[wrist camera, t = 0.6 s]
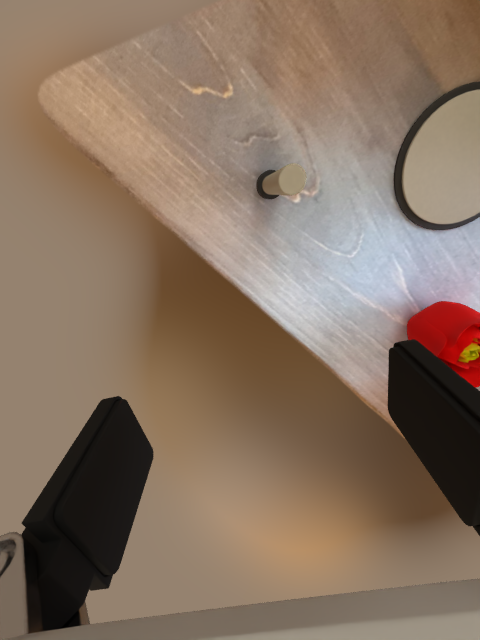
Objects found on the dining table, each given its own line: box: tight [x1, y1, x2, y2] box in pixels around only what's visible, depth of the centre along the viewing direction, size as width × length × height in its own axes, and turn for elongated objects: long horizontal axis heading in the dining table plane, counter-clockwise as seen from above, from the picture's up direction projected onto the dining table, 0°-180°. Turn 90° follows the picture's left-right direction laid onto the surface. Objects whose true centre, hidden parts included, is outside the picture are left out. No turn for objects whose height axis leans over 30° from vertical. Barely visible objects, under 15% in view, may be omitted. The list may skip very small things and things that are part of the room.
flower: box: [407, 301, 480, 387], centre depth 29 cm, size 8×8×8 cm
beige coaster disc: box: [394, 82, 480, 230], centre depth 25 cm, size 12×12×1 cm
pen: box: [257, 164, 307, 199], centre depth 20 cm, size 2×2×12 cm
